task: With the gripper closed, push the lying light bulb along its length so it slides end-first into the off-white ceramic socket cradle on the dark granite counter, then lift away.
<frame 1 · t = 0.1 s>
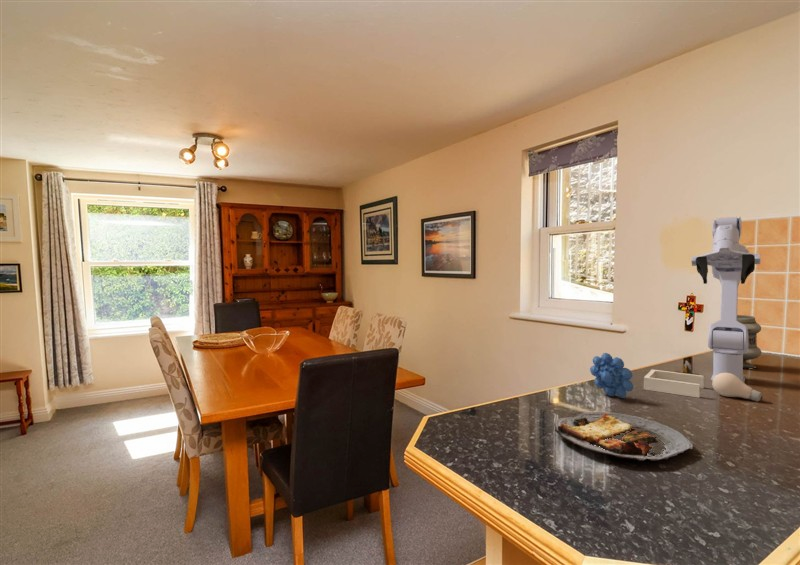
hand: (723, 280, 106), 32 cm above the kitchen counter, tool tilted 50°, fingers open, 7 cm apart
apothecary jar: (738, 366, 146), on the kitchen counter
light bulb: (736, 398, 112), on the kitchen counter
grapes: (609, 397, 114), on the kitchen counter
food plate: (617, 442, 86), on the kitchen counter
socket cradle: (676, 388, 121), on the kitchen counter
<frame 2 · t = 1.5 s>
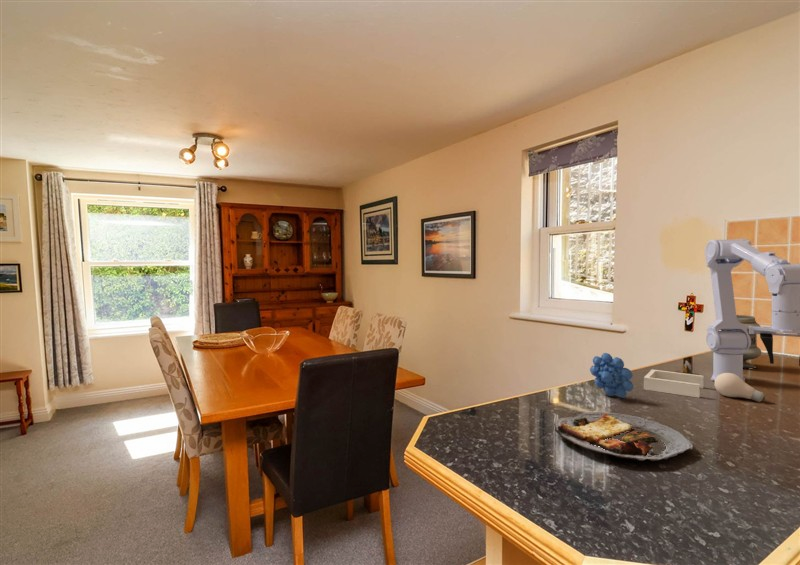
hand: (786, 364, 105), 10 cm above the kitchen counter, tool pointing down, fingers open, 5 cm apart
nothing on the kitchen counter moved.
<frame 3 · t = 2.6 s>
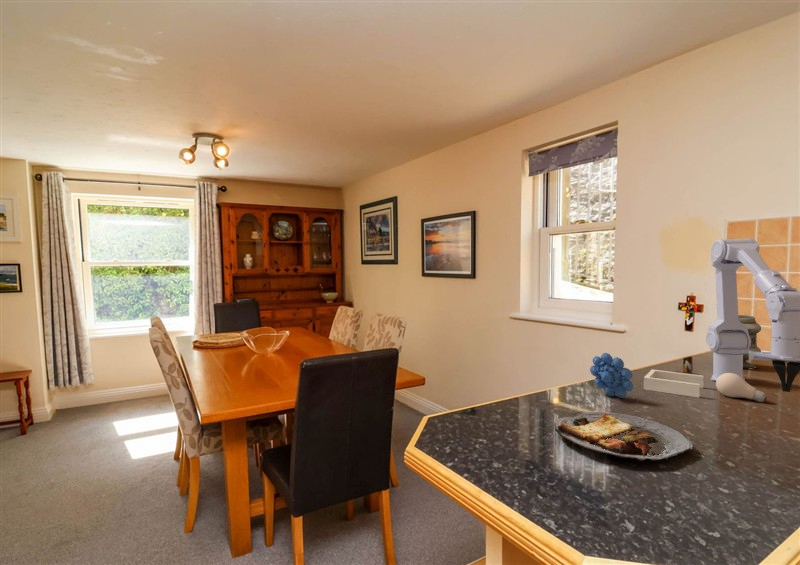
hand: (786, 390, 105), 4 cm above the kitchen counter, tool pointing down, fingers closed
nothing on the kitchen counter moved.
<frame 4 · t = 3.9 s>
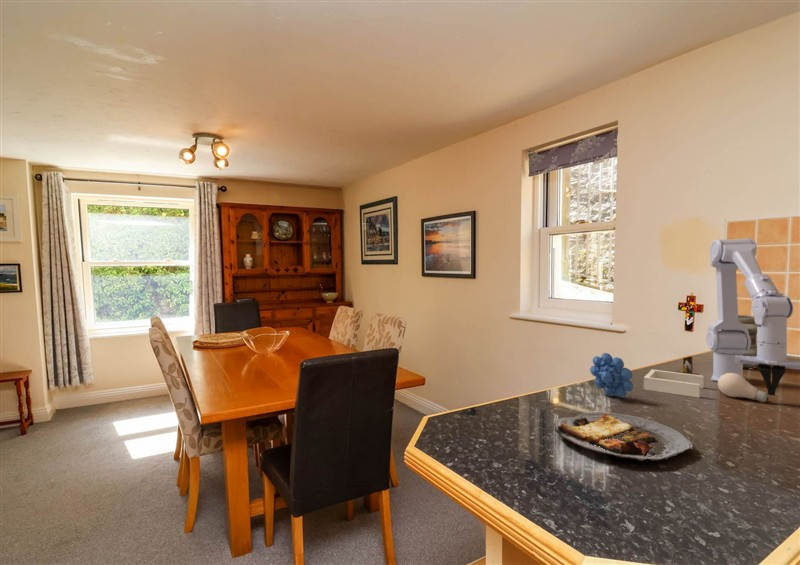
hand: (771, 394, 107), 2 cm above the kitchen counter, tool pointing down, fingers closed
light bulb: (742, 399, 111), on the kitchen counter, touching gripper
everything else where it was.
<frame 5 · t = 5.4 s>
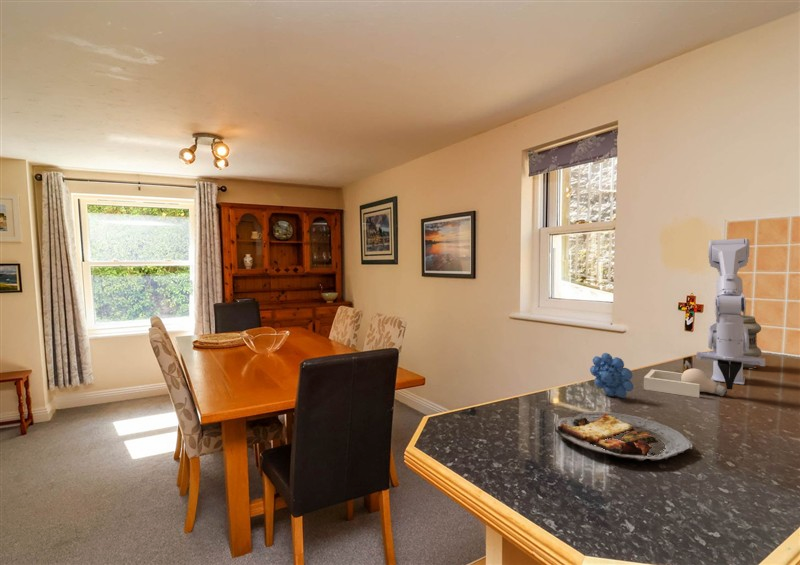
hand: (729, 388, 112), 2 cm above the kitchen counter, tool pointing down, fingers closed
light bulb: (703, 393, 116), on the kitchen counter, touching gripper
everything else where it was.
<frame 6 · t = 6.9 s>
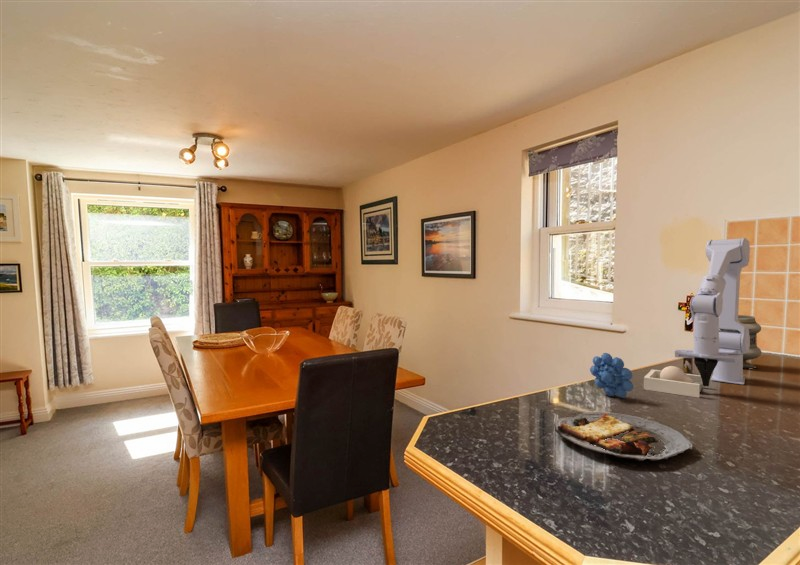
hand: (705, 385, 116), 2 cm above the kitchen counter, tool pointing down, fingers closed
light bulb: (680, 390, 120), resting in socket cradle, touching gripper
everything else where it was.
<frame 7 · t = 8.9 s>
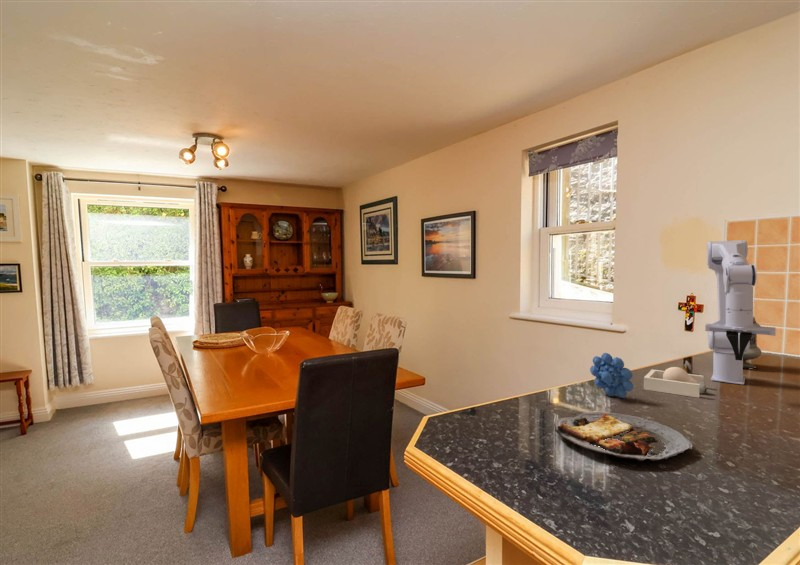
hand: (738, 359, 111), 10 cm above the kitchen counter, tool pointing down, fingers closed
light bulb: (684, 391, 119), resting in socket cradle
everything else where it was.
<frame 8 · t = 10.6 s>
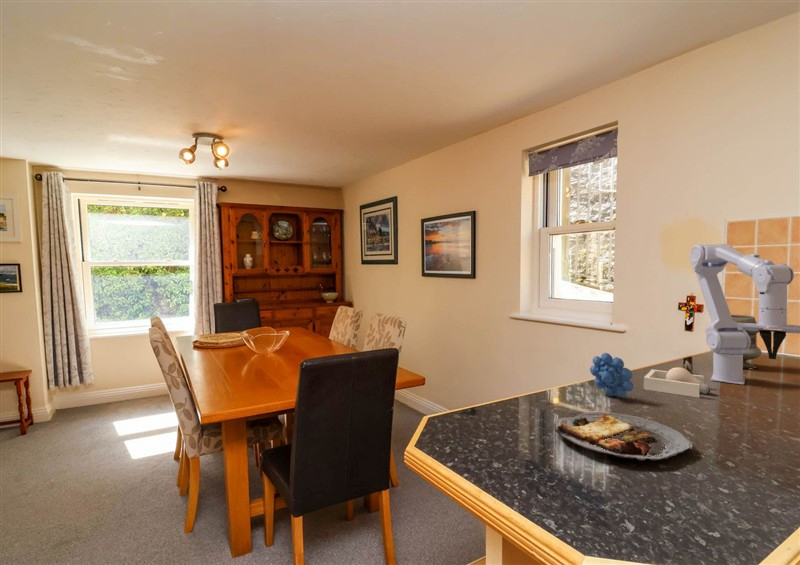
hand: (772, 358, 112), 10 cm above the kitchen counter, tool pointing down, fingers closed
nothing on the kitchen counter moved.
at the end: light bulb inside the target area on the socket cradle (3.4 cm from its centre), point 0.0 cm above the socket cradle's base; light bulb moved 10.7 cm from its start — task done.
